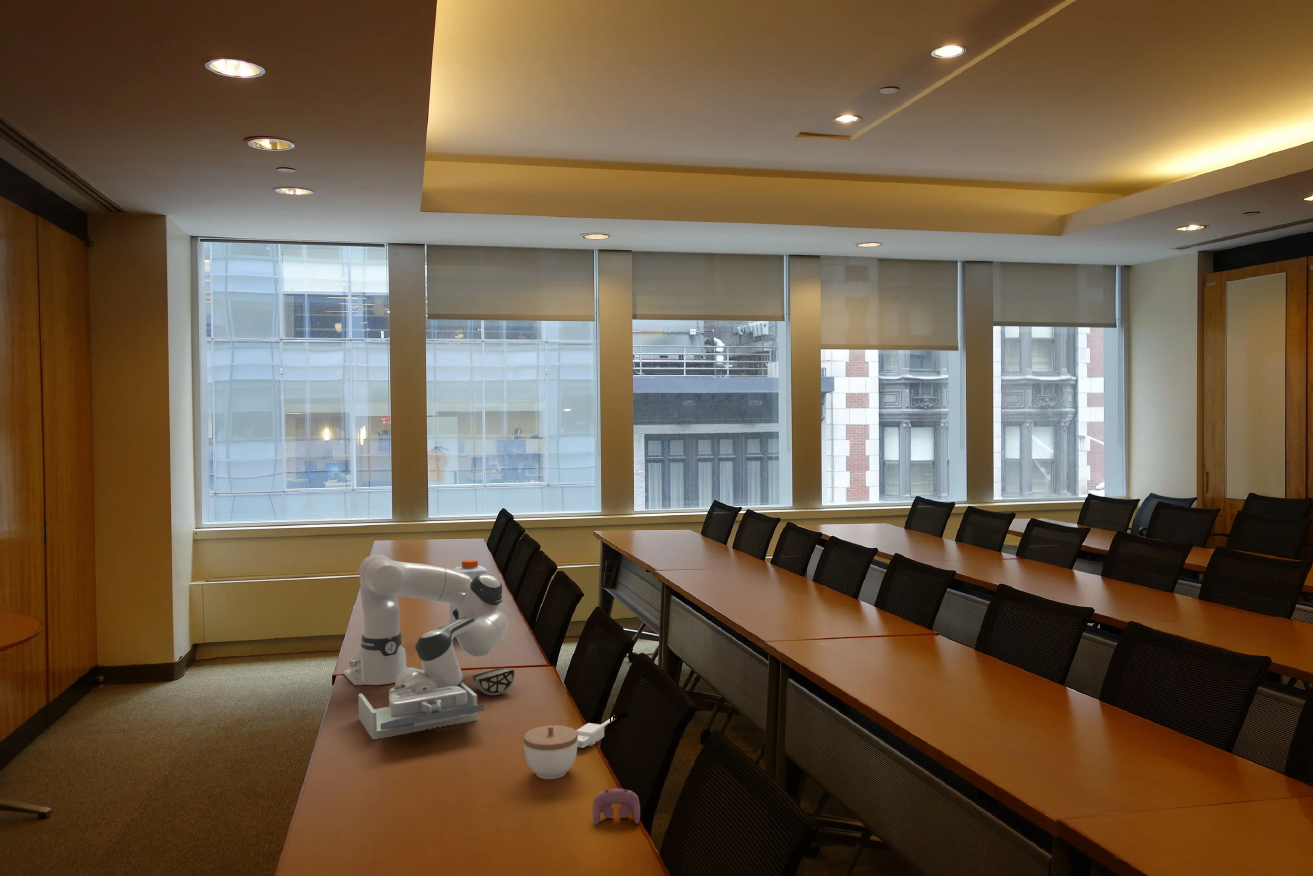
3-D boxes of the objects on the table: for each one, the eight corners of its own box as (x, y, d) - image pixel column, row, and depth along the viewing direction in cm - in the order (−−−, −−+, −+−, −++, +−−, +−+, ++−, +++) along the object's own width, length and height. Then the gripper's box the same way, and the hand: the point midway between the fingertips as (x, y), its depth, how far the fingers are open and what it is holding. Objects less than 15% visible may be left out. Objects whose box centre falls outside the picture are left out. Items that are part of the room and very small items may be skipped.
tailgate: (380, 724, 231) (390, 721, 221) (470, 707, 242) (483, 704, 232) (381, 733, 230) (391, 730, 220) (471, 716, 242) (484, 713, 232)
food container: (470, 697, 269) (480, 701, 260) (467, 676, 269) (476, 680, 260) (509, 685, 275) (519, 689, 266) (505, 666, 275) (515, 669, 266)
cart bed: (358, 719, 245) (358, 694, 245) (457, 701, 259) (457, 678, 259) (372, 739, 230) (372, 713, 229) (477, 720, 243) (477, 695, 243)
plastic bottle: (447, 631, 343) (445, 559, 342) (485, 626, 349) (484, 556, 348) (455, 640, 329) (454, 565, 328) (495, 635, 335) (494, 562, 334)
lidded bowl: (528, 787, 200) (527, 739, 199) (520, 766, 212) (520, 720, 212) (583, 780, 203) (582, 732, 203) (572, 759, 215) (572, 714, 215)
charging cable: (637, 714, 250) (637, 703, 250) (584, 751, 220) (585, 738, 220) (620, 712, 252) (621, 701, 252) (567, 748, 222) (567, 735, 222)
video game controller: (640, 824, 185) (639, 788, 188) (640, 823, 181) (639, 787, 184) (592, 825, 184) (592, 789, 187) (592, 825, 180) (592, 788, 183)
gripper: (459, 699, 246) (474, 714, 234) (384, 713, 236) (396, 729, 224) (458, 677, 246) (474, 690, 234) (383, 689, 236) (395, 704, 224)
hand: (435, 709), depth 229 cm, fingers closed, pressing on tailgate
